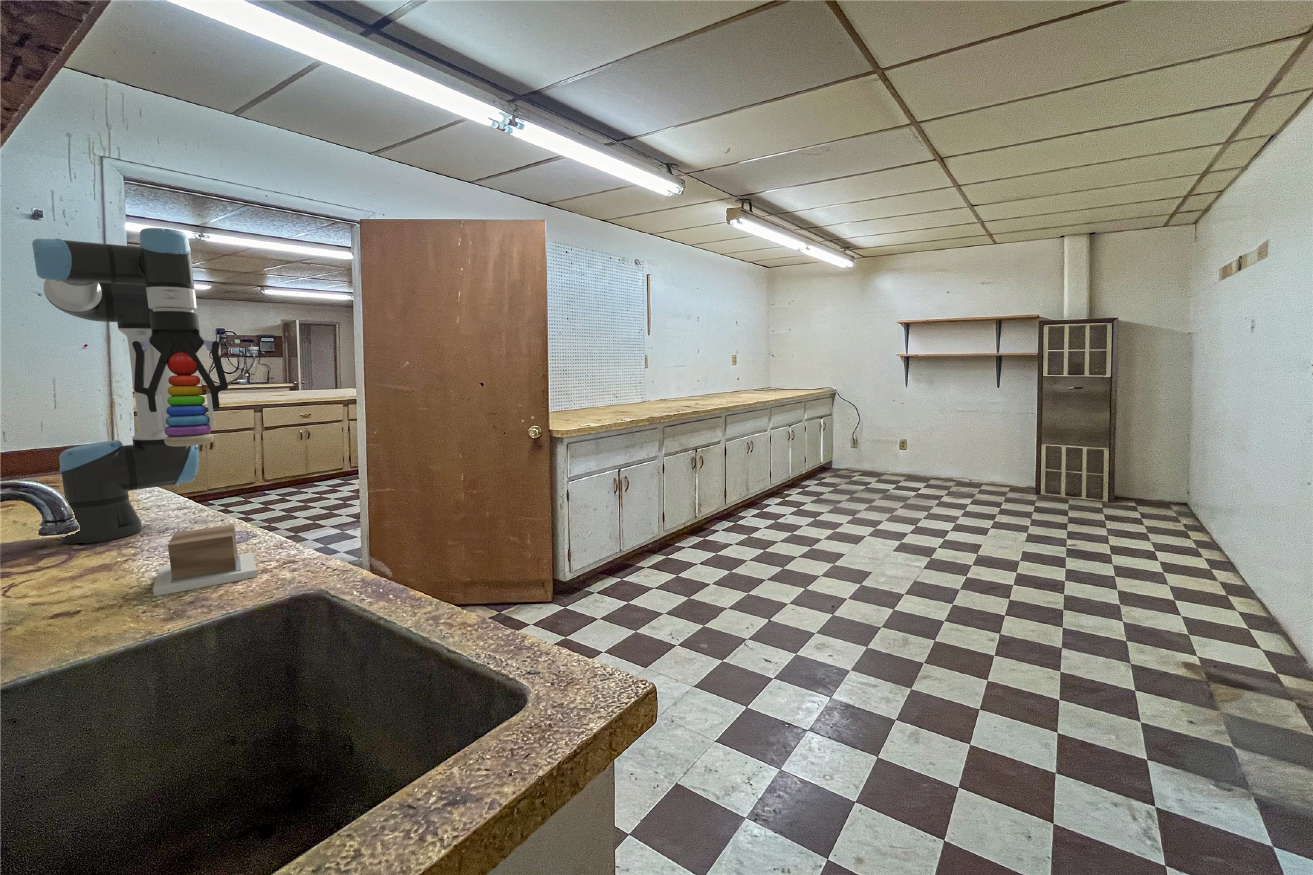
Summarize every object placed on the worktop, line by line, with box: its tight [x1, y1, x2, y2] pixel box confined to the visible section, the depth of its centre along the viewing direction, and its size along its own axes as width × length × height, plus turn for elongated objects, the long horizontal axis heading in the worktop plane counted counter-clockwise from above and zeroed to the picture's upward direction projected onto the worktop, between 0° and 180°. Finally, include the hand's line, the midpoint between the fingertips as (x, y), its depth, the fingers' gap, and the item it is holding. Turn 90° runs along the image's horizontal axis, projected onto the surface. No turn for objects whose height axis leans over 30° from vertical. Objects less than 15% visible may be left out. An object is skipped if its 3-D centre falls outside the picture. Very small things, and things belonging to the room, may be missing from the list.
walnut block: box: [167, 524, 239, 581], centre depth 121 cm, size 10×10×7 cm
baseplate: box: [152, 551, 258, 597], centre depth 121 cm, size 14×16×2 cm
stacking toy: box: [164, 352, 215, 446], centre depth 121 cm, size 8×8×19 cm
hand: (187, 426), depth 121 cm, fingers closed on stacking toy, 7 cm apart
